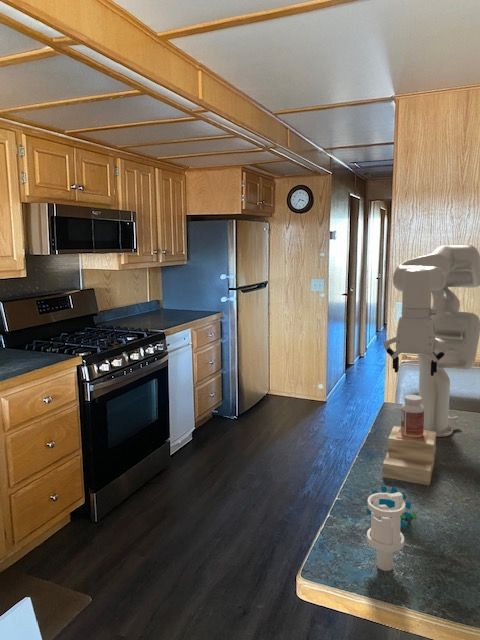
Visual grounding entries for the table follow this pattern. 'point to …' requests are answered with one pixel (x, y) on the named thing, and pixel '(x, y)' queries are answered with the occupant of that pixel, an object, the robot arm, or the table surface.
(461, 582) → the table surface
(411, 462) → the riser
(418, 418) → the pill bottle
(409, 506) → the gear
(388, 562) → the white flanged pipe fitting
